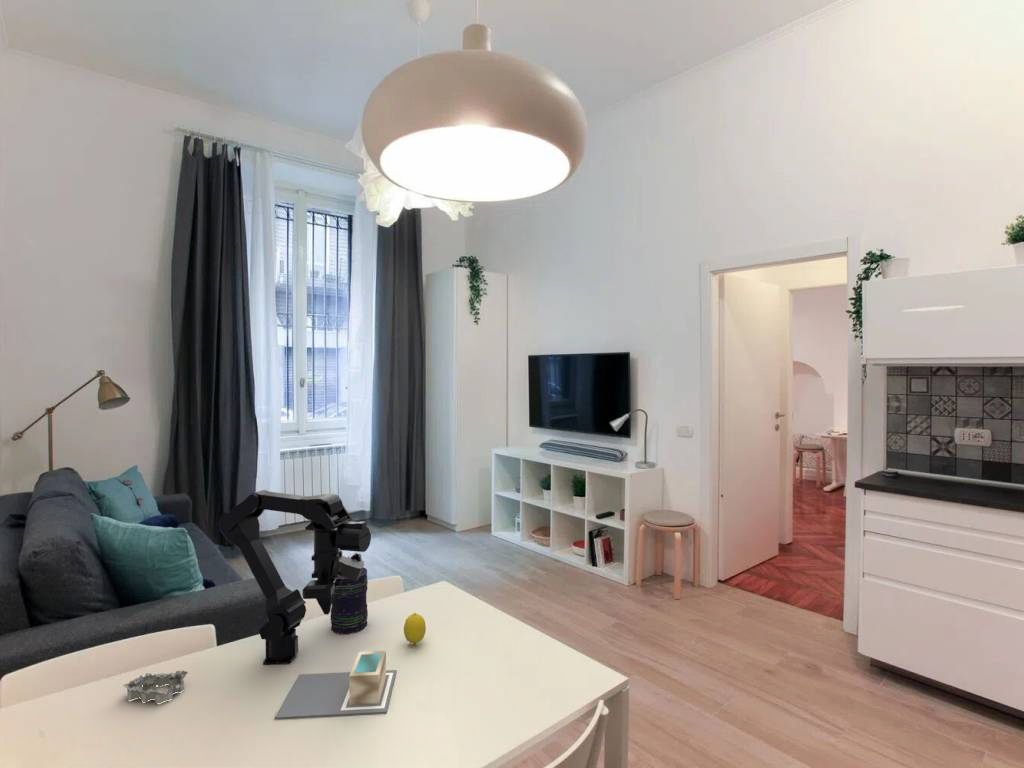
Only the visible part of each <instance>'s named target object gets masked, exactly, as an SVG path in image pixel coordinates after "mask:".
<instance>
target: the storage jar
mask: <svg viewBox="0 0 1024 768" xmlns="http://www.w3.org/2000/svg"><path fill="white" fill-rule="evenodd" d="M337 579H342V582H341V583H340V585H339V587H338V588H337V590H336V591H335V592H334V596H333V600H332V605H331V609H330V625H331V626H330V630H331V632H332V631H333V632H332V633H334V632H335V634H337V633H339V634H338V635H351V633H352V634H356V633H359V632H361V631H364V628H365V627H366V626H367V627H368V615H369V612H368V611H369V609H368V604H367V591H368V569H367V568H365V567H364V566H363V569H362V571H361V574H360V576H359V578H358V580H357V581H353V580H351V579H349V578H346V577H343V576H340V575H339V574H338V578H337ZM367 627H366V628H367ZM366 628H365V629H366Z"/></svg>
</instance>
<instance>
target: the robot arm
mask: <svg viewBox="0 0 1024 768" xmlns="http://www.w3.org/2000/svg"><path fill="white" fill-rule="evenodd" d="M265 510H266V511H274V512H279V513H280V512H281V513H288V514H295V515H296V514H297V515H300V516H302V517H303V518H305V519H306V520H308V521H310V522H309V524H307V526H305V528H304V529H305V530H306V531H313V554H312V555H311V561H313V572H312V573H311V580H310V581H309V582H307V584H305V586H304V587H303V588H302V592H300V590H299V589H298V588H296V589H294V590H291V589H289V588H288V587H287V586H286V584H285V583H284V581H283V579H282V577H281V575H280V573H279V571H278V570H277V568H276V566H275V564H274V562H273V560H272V559H271V557H270V555H269V553H268V551H267V549H266V547H265V546H264V543H263V542H262V540H261V538H260V527H261V526H260V522H259V519H258V518H259V517H260V516H261V515H262V514H264V511H265ZM333 519H334V520H333ZM217 524H218V528H219V530H220V532H221V534H222V536H223V537H224V538H225V539H226V540H227V541H228V542H229V543H230V544H232V545H234V546H236V547H237V548H238V549H239V550H240V552H241V554H242V557H243V558H244V560H245V561H246V564H247V565H248V567H249V569H250V571H251V573H252V575H253V578H254V579H255V581H256V582H257V584H258V587H259V588H260V590H261V592H262V594H263V596H264V599H265V601H266V602H265V614H266V618H267V621H266V623H264V625H263V626H262V627H261V628H260V629H259V630H258V633H259V636H260V638H261V639H260V640H264V641H265V658H264V660H263V661H262V664H263V665H278V664H280V665H281V664H290V663H291V662H292V661H293V660H294V658H295V657H296V656H297V654H298V653H299V635H297V629H296V628H297V627H299V626H300V625H301V623H302V620H303V619H304V618H305V617H306V612H307V607H306V605H305V604H306V603H307V602H306V601H305V600H315V599H316V602H317V603H318V606H319V607H320V610H321V611H322V612H323V613H322V614H323V615H329V614H331V608H332V600H333V596H334V592H335V591H336V590H337V588H338V587H339V585H340V583H341V582H342V579H337V578H338V574H339V575H340V576H343V577H346V578H349V579H351V580H353V581H357V580H358V578H359V576H360V574H361V571H362V569H363V567H364V566H365V562H364V560H363V558H362V554H361V553H365V552H366V551H367V550H368V549H369V547H370V545H371V542H372V541H371V540H372V533H371V530H370V528H369V527H368V526H367V522H366V521H353V518H352V517H351V515H350V514H349V512H348V510H347V509H346V507H345V505H344V504H343V501H342V498H340V495H338V494H335V493H326V494H325V493H324V494H317V495H308V496H307V495H299V494H298V495H297V494H292V493H282V492H273V491H269V490H266V489H262V490H258V491H255V492H252V493H251V494H249V495H247V497H246V498H245V499H244V500H242V502H241V501H240V503H239V504H237V505H236V506H234V507H233V508H231V509H230V510H229V511H227V512H224V513H222V515H221V516H220V518H219V521H218V523H217ZM343 551H347V552H355V553H354V554H353V555H351V557H350V556H349V555H348V556H347V557H346V556H344V555H343ZM358 552H360V553H358ZM301 593H302V594H301Z"/></svg>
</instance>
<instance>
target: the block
mask: <svg viewBox="0 0 1024 768" xmlns="http://www.w3.org/2000/svg"><path fill="white" fill-rule="evenodd" d="M386 661H387V651H386V650H379V651H377V650H375V651H374V650H373V651H358V653H357V656H356V658H355V661H354V663H353V666H352V667H351V671H350V672H351V673H350V676H349V705H357V704H376V703H379V701H380V697H381V694H382V690H383V686H384V683H385V679H386V670H387V662H386Z"/></svg>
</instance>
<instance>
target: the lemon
mask: <svg viewBox="0 0 1024 768" xmlns="http://www.w3.org/2000/svg"><path fill="white" fill-rule="evenodd" d="M426 629H427V628H426V621H425V618H424V617H423V616H422V615H421V614H419V613H416V612H414V613H412V614H409V616H407V618H406V620H405V621H404V626H403V634H404V637H405V639H406V641H408V642H409V643H412V644H413V645H417V644H418V643H419V642H421V641H422V640H423V638H424V637H425V635H426Z"/></svg>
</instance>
